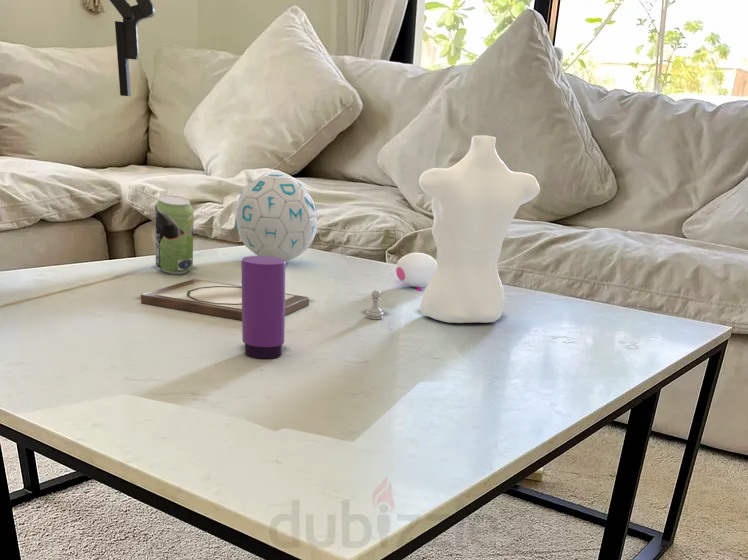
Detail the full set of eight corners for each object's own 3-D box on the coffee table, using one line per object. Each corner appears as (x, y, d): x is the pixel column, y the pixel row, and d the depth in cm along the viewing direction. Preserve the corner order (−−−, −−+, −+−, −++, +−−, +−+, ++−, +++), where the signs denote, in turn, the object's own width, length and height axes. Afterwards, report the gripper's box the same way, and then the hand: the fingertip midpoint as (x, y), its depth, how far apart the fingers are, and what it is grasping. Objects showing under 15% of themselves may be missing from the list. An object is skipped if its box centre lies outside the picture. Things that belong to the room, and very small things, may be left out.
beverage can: (181, 267, 136) (178, 193, 130) (203, 275, 131) (201, 199, 126) (148, 269, 132) (143, 193, 126) (170, 278, 127) (166, 200, 122)
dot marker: (234, 355, 93) (233, 260, 88) (255, 345, 97) (254, 254, 92) (272, 362, 92) (272, 266, 87) (291, 352, 96) (292, 259, 91)
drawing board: (140, 303, 112) (140, 293, 111) (194, 286, 124) (194, 277, 123) (265, 324, 106) (265, 314, 106) (309, 305, 118) (309, 295, 118)
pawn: (372, 320, 113) (374, 292, 111) (362, 316, 114) (363, 288, 113) (386, 318, 114) (388, 291, 112) (376, 314, 116) (378, 287, 114)
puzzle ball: (332, 263, 149) (335, 178, 142) (276, 272, 138) (276, 180, 131) (275, 250, 157) (276, 169, 150) (218, 257, 146) (215, 170, 139)
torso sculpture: (500, 309, 125) (525, 136, 113) (529, 325, 117) (558, 141, 105) (394, 309, 119) (408, 128, 108) (416, 326, 111) (434, 132, 100)
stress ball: (430, 303, 139) (428, 267, 140) (445, 285, 132) (443, 248, 132) (389, 301, 137) (387, 265, 138) (402, 283, 130) (400, 244, 130)
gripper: (-144, -214, 64) (-90, 79, 74) (168, -170, 69) (179, 100, 79) (-110, -187, 71) (-65, 79, 81) (173, -148, 76) (183, 99, 85)
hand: (56, 90), depth 80 cm, fingers open, 13 cm apart
